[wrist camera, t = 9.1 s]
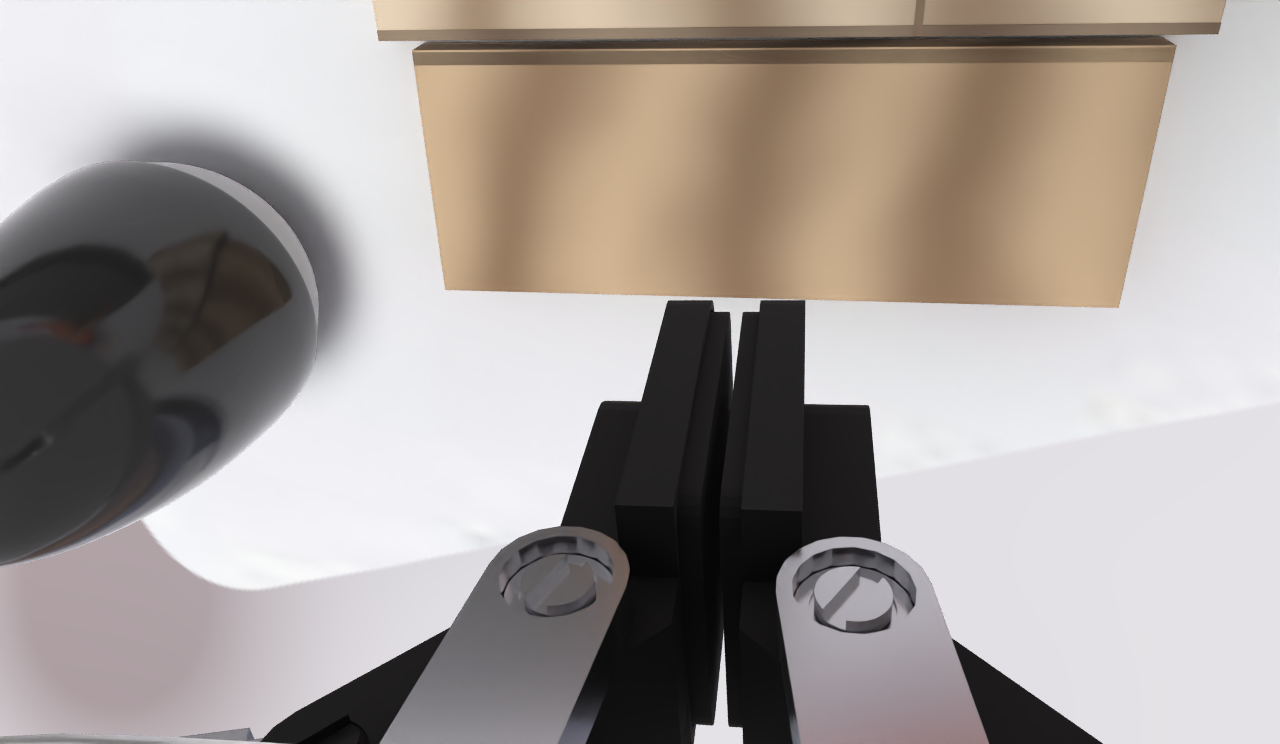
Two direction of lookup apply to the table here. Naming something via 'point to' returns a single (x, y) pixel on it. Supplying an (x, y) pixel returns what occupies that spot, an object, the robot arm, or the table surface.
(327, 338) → the table surface
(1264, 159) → the table surface
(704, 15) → the laid boards
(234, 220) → the pump dispenser
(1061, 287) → the plank
